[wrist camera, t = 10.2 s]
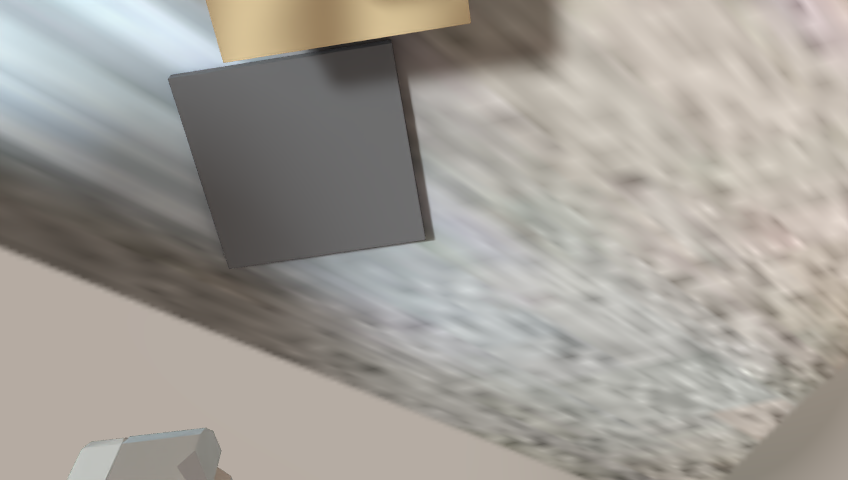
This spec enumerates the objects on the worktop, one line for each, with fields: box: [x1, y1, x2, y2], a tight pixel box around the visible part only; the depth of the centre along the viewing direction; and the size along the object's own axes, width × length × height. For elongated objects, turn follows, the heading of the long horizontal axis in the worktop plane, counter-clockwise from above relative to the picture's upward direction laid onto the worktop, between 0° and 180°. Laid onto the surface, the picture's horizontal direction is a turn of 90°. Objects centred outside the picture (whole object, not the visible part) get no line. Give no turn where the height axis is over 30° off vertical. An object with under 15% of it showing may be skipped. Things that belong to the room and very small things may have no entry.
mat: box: [168, 40, 425, 269], centre depth 42 cm, size 11×11×1 cm
